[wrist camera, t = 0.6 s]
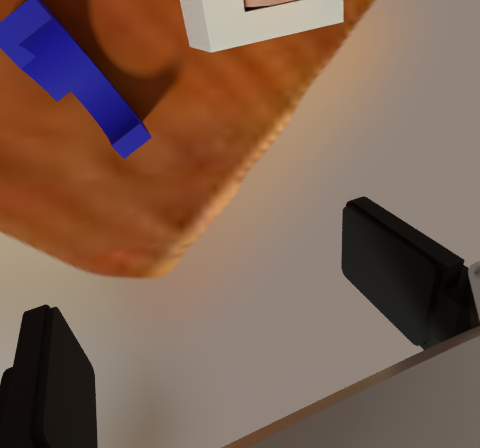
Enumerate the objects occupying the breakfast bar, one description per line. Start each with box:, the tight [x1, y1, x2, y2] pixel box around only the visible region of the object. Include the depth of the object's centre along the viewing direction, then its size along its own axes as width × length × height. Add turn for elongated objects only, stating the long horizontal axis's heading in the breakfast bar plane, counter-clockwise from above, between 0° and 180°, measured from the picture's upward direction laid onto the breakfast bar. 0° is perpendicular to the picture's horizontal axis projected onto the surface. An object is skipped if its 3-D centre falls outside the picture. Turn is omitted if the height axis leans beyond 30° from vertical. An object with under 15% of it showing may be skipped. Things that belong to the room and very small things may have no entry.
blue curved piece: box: [0, 0, 151, 159], centre depth 30 cm, size 12×4×6 cm, turn 33°
